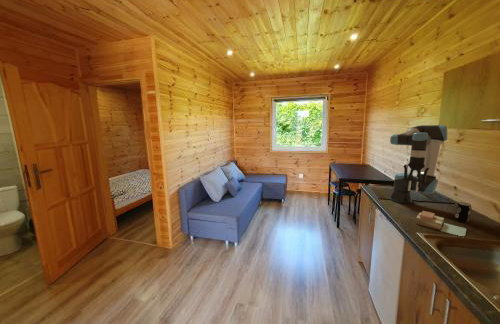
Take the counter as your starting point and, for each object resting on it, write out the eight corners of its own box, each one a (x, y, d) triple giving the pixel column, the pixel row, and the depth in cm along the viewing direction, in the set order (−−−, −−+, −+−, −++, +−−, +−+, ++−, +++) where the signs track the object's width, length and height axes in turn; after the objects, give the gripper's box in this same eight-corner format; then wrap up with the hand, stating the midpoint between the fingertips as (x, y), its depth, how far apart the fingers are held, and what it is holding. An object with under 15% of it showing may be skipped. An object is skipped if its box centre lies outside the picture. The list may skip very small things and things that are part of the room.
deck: (419, 217, 141) (420, 212, 141) (442, 223, 132) (443, 217, 132) (415, 223, 134) (416, 217, 133) (440, 230, 125) (441, 224, 124)
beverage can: (451, 218, 140) (454, 201, 137) (463, 218, 138) (466, 202, 136) (459, 222, 133) (463, 205, 131) (471, 223, 132) (475, 205, 130)
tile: (422, 213, 139) (422, 210, 138) (434, 216, 134) (434, 213, 134) (419, 217, 133) (419, 214, 132) (431, 220, 128) (432, 217, 128)
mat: (444, 223, 133) (444, 222, 133) (466, 229, 125) (466, 228, 125) (440, 231, 124) (440, 230, 124) (464, 237, 116) (464, 237, 116)
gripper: (400, 155, 137) (396, 189, 141) (433, 158, 124) (427, 195, 129) (403, 154, 141) (399, 187, 146) (435, 157, 129) (429, 192, 134)
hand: (412, 190), depth 137 cm, fingers open, 3 cm apart
